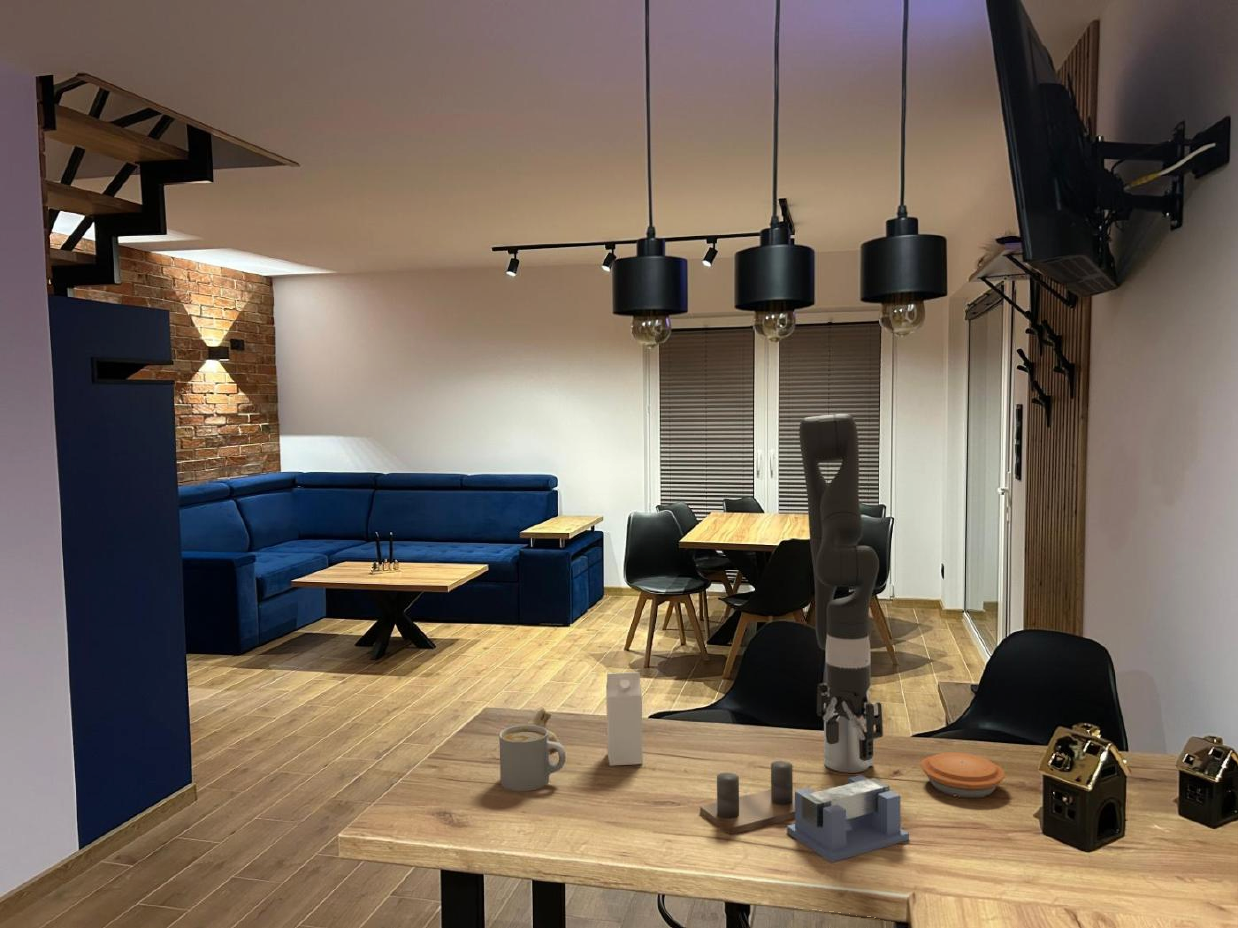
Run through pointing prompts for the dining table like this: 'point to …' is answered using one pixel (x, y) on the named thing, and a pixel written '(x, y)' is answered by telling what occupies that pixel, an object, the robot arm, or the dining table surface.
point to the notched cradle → (850, 827)
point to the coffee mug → (527, 757)
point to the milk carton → (624, 718)
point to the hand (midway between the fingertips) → (848, 750)
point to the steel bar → (844, 800)
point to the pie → (962, 774)
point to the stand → (752, 802)
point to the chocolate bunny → (544, 724)
